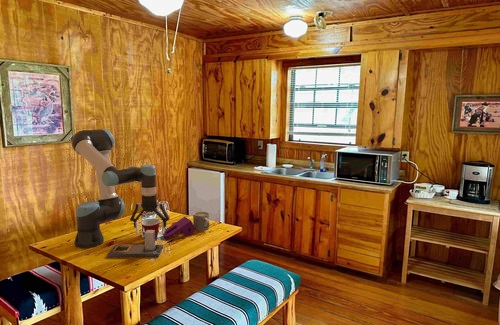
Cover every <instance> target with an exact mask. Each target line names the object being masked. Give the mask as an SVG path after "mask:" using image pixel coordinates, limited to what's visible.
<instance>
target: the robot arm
mask: <svg viewBox="0 0 500 325" xmlns="http://www.w3.org/2000/svg"><path fill="white" fill-rule="evenodd" d="M114 145H115V137H114V135H113V133H112V132H111V131H110V130H109V129H104V128H103V129H102V128H99V129H98V128H97V129H82V130H79V131H77V132H75V133H74V134H73V136H72V138H71V148H72V149H73V151H74V152H75V153H76V154H77V155H79V156H82V157H83V158H84V159H85V160H86V161H87V162H88V163H89V164H90V165H91V166H92V167H93V169H95V171H96V172H95V173H96V177H97V185H98V190H99V191H98V192H99V197H98V198H97V201H96V200H90V201H85V202H82V203H80V204H78V205H77V206H76V210H75V215H76V217H75V218H76V228H77V229H76V230H77V231H76V235H75V239H74V247H76V248H78V247H79V248H80V249H89V248H94V247H98V246H100V245H101V246H102V244H103V243H104V242H105V240H104V235H103V233H102V230H101V223H105V222H108V221H111V220H116V219H119V218H121V217H122V216H123V214H124V213H125V209H126V207H125V202H124V200H123V199H122V198H120V196H119V194H117V193H116V188H115V186H119V185H123V184H124V185H125V184H129V183H134V182H138V183H140V185H141V186H140V187H141V188H140V189H141V203H140V202H137V203H136V204H135V207H134V209H133V210H134V211H133V213H132V215H131V216H130V219H129V221H130V222H132V223H133V227H134V228H135V235H138V234H139V233H140V227H139V226H140V224H139V223H140V222H139V221H140V220H139V218H140V217H141V216H142V215H143V214H144V213H145V212H146V213H154V214H155V215H157V217H158V218H160V220H161V234H162V235H163V234H164V232H165V230H166V229H165V228H166V227H167V222H168V221H169V220H170V216H169V214H168V213H167V211H166V209H165V206H164V203H163V202H160V203H158V200H157V198H158V197H157V192H158V191H157V172H156V166H155V165H154V164H143V165H141V166H140V167H139V166H129V167H127V168H122V169H121V168H120V169H118V168H117V167H115V166H114V165H113V163H112V162H111V156H110V155H111V152H112V148H113V147H114ZM157 207H158V208H159V209H160V211H159V209H158V208H157ZM139 208H142V210H141V211H140V212H139V214H137V213H138V211H139ZM136 214H137V216H136Z"/></svg>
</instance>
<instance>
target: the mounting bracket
mask: <svg viewBox="0 0 500 325" xmlns="http://www.w3.org/2000/svg"><path fill="white" fill-rule="evenodd" d="M164 230H165V232H164V234H162V236H163V238H164V239H167V240H168V239H169V240H170V239H171V238H173V237H175V236H176V235H178V234H180V233H182V235H184V236H186V237H189V236H193V234H194V232H195V227H194V225H193V220H191V219H190V218H188V217H186V216H184V217H181V218H180V219H178V220H177V221H176V222H174V223H173V224H172V225H170V226H168V228H165V229H164Z"/></svg>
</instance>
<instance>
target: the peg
mask: <svg viewBox="0 0 500 325" xmlns="http://www.w3.org/2000/svg"><path fill="white" fill-rule="evenodd" d="M144 245H145V252H155V251H156V247H155V245H156V241H155V230H147V231H146V232H144Z"/></svg>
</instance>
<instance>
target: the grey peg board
mask: <svg viewBox="0 0 500 325" xmlns="http://www.w3.org/2000/svg"><path fill="white" fill-rule="evenodd" d="M155 247H156V251H155V252H145V244H115V245H114V246H113V247H112V248H111V250H110V251H109V252H108V253H107V258H159V257H160V255H161V253H162V251H163V249H164V244H155Z"/></svg>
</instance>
